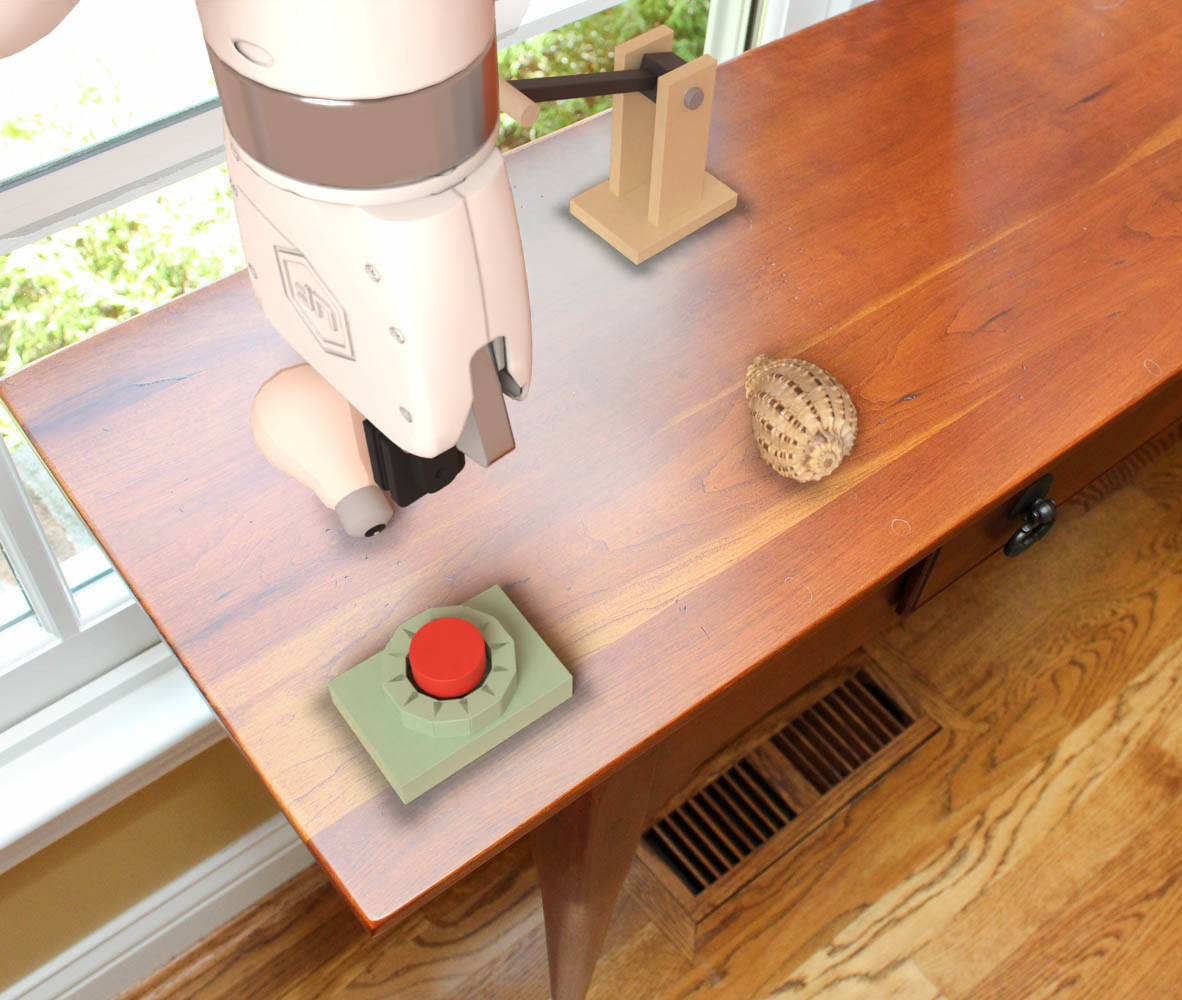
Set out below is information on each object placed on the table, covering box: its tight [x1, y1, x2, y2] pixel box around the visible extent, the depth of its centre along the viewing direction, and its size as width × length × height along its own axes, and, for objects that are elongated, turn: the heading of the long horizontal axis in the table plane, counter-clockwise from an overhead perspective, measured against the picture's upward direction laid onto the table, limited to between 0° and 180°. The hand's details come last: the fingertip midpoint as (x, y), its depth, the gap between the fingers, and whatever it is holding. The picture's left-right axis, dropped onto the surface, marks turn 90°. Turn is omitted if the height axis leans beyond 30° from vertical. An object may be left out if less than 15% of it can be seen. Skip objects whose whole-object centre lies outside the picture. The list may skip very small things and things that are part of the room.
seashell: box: [744, 353, 859, 484], centre depth 76 cm, size 8×6×10 cm
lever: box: [498, 51, 688, 128], centre depth 75 cm, size 16×5×2 cm, turn 137°
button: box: [409, 617, 486, 698], centre depth 60 cm, size 4×4×2 cm
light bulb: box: [249, 362, 394, 538], centre depth 69 cm, size 7×7×11 cm
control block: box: [326, 583, 574, 806], centre depth 62 cm, size 10×7×4 cm
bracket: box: [569, 24, 739, 266], centre depth 83 cm, size 10×7×13 cm
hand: (421, 476), depth 49 cm, fingers closed
